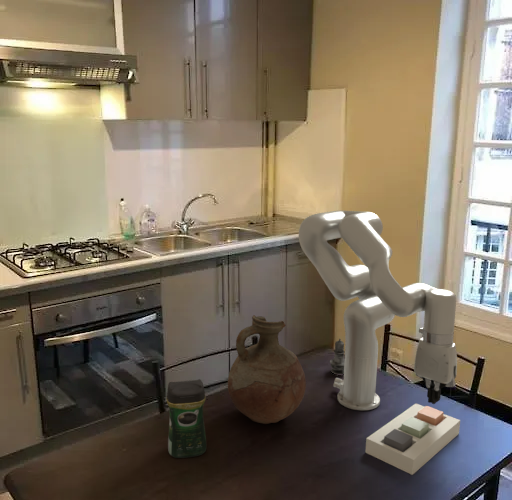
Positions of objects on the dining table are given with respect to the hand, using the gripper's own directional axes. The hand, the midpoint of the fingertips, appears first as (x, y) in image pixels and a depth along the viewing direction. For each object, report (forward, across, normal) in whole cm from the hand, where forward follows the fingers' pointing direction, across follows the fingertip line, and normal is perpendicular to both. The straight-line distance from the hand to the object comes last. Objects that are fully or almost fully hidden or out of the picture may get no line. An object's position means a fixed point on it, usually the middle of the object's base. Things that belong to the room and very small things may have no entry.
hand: (433, 401), depth 148 cm
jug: (+8, -37, -26) cm, 46 cm away
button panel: (+9, -1, -8) cm, 12 cm away
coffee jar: (+8, -40, -52) cm, 66 cm away
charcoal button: (+6, -1, -17) cm, 18 cm away
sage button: (+6, -1, -9) cm, 10 cm away
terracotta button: (+6, -1, 0) cm, 6 cm away
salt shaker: (+8, -40, +12) cm, 42 cm away
